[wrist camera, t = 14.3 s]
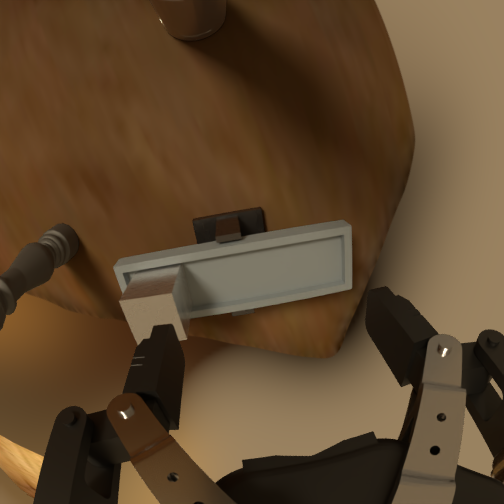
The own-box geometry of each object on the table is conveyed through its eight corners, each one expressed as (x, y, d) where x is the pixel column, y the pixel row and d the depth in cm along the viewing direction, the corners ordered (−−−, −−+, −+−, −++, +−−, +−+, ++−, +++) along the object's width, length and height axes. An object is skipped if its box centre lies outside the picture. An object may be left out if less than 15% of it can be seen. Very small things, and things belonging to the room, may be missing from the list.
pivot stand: (193, 218, 43) (185, 239, 34) (260, 206, 43) (269, 224, 35) (209, 289, 47) (207, 322, 39) (270, 278, 48) (280, 309, 39)
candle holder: (85, 244, 42) (-2, 334, 19) (65, 264, 43) (-16, 355, 20) (63, 215, 40) (-39, 287, 17) (44, 238, 41) (-48, 314, 18)
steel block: (137, 268, 36) (118, 300, 28) (181, 260, 36) (171, 293, 28) (151, 307, 38) (137, 345, 31) (192, 301, 38) (187, 339, 31)
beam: (119, 258, 36) (113, 267, 34) (343, 219, 37) (351, 225, 35) (139, 314, 40) (135, 325, 37) (344, 279, 41) (351, 288, 38)
